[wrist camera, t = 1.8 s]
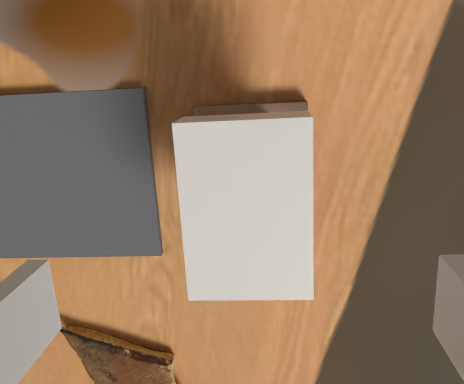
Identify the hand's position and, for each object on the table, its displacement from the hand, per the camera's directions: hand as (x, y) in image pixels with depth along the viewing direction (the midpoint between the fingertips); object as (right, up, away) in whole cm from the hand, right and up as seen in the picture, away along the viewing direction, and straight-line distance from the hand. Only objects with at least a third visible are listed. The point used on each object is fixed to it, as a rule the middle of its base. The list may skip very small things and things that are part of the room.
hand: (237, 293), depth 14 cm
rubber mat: (-14, +5, +19) cm, 24 cm away
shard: (-10, -13, +24) cm, 29 cm away
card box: (+1, +3, +11) cm, 11 cm away
